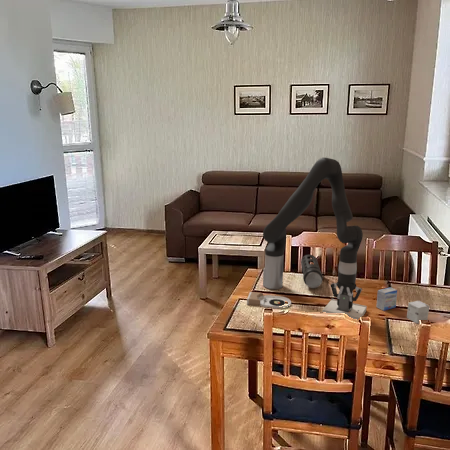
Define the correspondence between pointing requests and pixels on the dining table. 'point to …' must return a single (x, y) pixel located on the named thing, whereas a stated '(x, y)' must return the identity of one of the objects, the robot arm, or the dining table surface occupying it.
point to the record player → (267, 300)
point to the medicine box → (386, 298)
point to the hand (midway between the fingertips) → (344, 307)
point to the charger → (344, 302)
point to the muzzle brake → (311, 271)
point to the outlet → (354, 313)
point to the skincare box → (417, 311)
